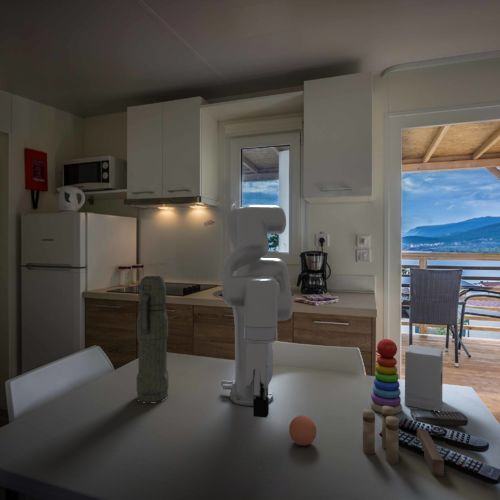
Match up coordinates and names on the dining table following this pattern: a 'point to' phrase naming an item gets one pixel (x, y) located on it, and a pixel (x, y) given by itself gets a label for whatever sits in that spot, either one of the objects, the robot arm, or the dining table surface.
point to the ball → (302, 430)
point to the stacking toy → (386, 378)
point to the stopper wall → (431, 453)
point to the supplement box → (423, 377)
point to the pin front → (368, 431)
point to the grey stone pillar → (152, 340)
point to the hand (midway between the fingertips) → (261, 415)
